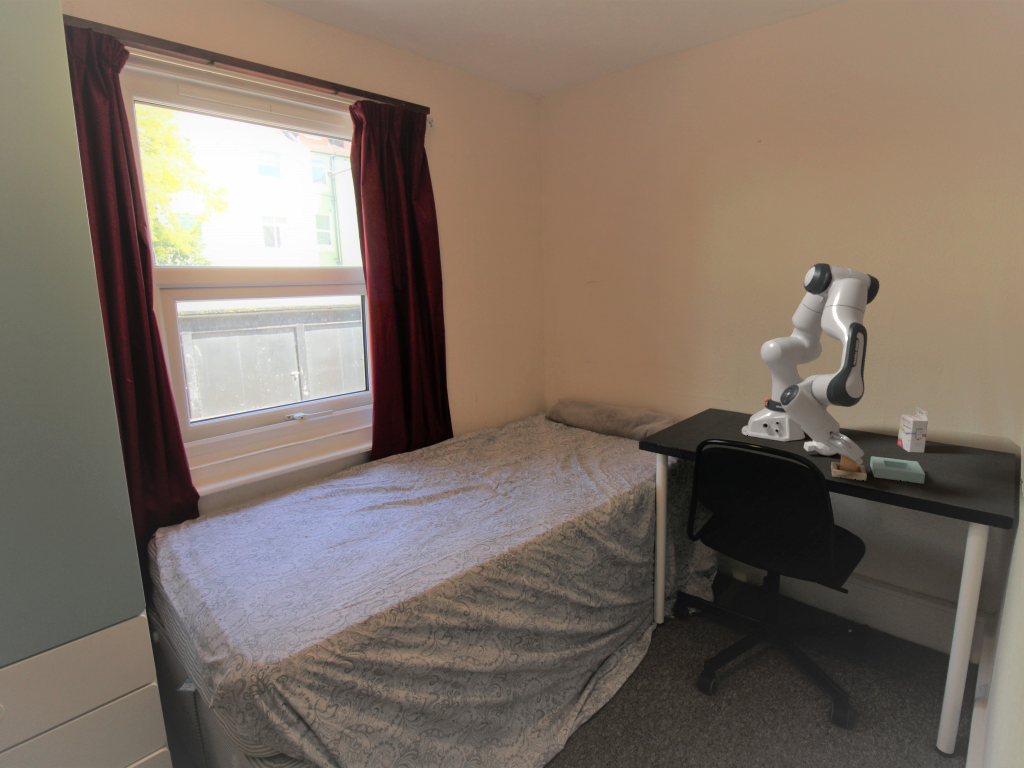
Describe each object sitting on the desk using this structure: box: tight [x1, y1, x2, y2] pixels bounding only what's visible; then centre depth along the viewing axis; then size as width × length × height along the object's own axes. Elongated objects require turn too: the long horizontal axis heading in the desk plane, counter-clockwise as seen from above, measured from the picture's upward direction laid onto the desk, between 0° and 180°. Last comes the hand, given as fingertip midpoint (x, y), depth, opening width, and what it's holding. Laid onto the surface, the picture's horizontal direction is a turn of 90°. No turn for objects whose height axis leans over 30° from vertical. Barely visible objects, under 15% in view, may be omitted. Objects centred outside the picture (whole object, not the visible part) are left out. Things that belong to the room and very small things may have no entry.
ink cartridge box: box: [897, 406, 929, 454], centre depth 184 cm, size 9×5×15 cm, turn 168°
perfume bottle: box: [803, 440, 839, 457], centre depth 181 cm, size 9×9×12 cm
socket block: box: [869, 455, 926, 484], centre depth 162 cm, size 12×12×3 cm
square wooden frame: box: [830, 461, 867, 482], centre depth 163 cm, size 9×9×2 cm
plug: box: [839, 454, 858, 472], centre depth 162 cm, size 5×5×10 cm
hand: (851, 458), depth 162 cm, fingers open, 7 cm apart
